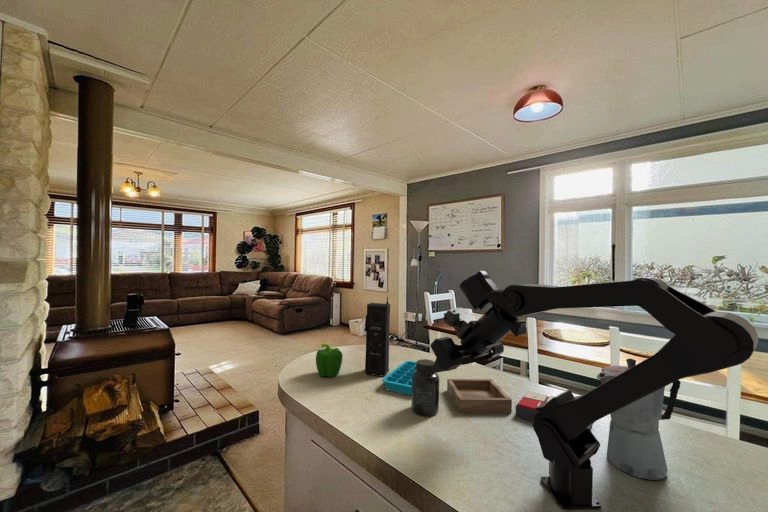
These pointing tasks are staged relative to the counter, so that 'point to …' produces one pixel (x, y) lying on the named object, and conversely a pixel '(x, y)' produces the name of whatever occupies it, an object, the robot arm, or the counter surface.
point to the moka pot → (638, 430)
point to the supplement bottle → (425, 389)
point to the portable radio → (377, 338)
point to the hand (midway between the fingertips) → (447, 366)
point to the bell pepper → (328, 361)
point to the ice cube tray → (401, 378)
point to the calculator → (531, 405)
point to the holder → (478, 396)
